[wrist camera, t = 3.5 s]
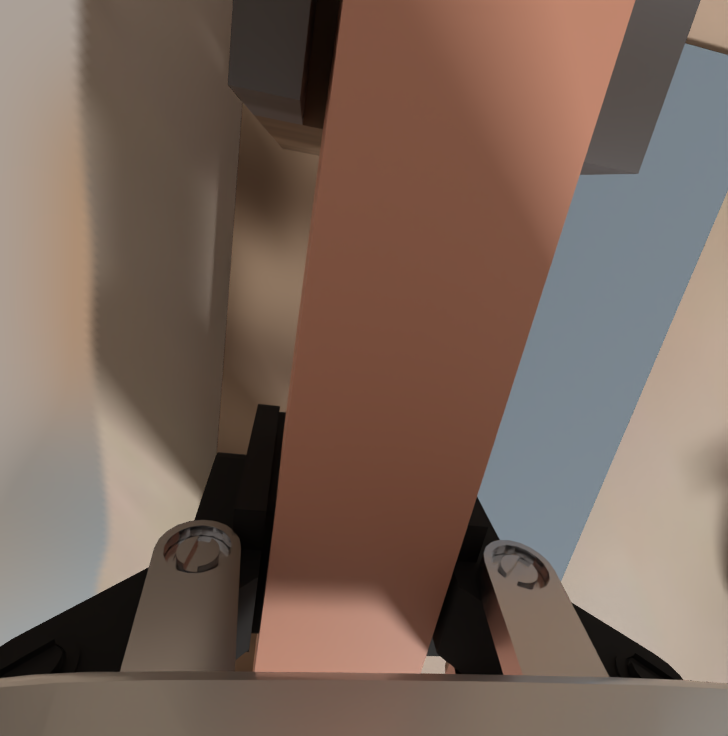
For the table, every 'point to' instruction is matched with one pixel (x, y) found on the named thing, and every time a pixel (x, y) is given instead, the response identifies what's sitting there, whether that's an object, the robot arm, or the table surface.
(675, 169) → the mat
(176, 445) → the table surface
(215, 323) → the table surface
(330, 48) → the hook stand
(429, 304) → the rail
